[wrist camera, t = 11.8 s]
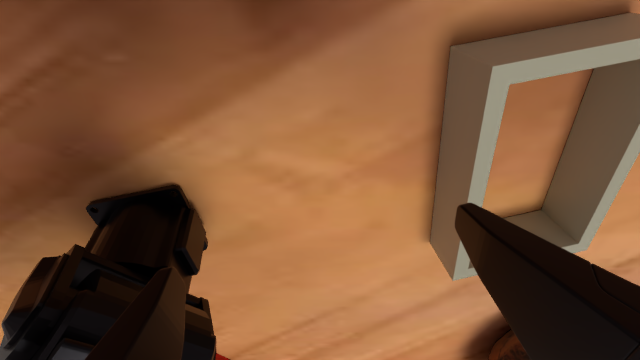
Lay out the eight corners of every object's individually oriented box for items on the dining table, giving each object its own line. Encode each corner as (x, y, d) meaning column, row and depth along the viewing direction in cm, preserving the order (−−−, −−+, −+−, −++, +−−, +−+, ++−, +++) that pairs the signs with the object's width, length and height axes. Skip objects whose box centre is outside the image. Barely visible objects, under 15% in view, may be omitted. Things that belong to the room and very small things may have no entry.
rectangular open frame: (429, 242, 31) (452, 280, 28) (450, 46, 20) (492, 66, 17) (549, 216, 32) (586, 249, 28) (630, 12, 21) (707, 25, 18)
